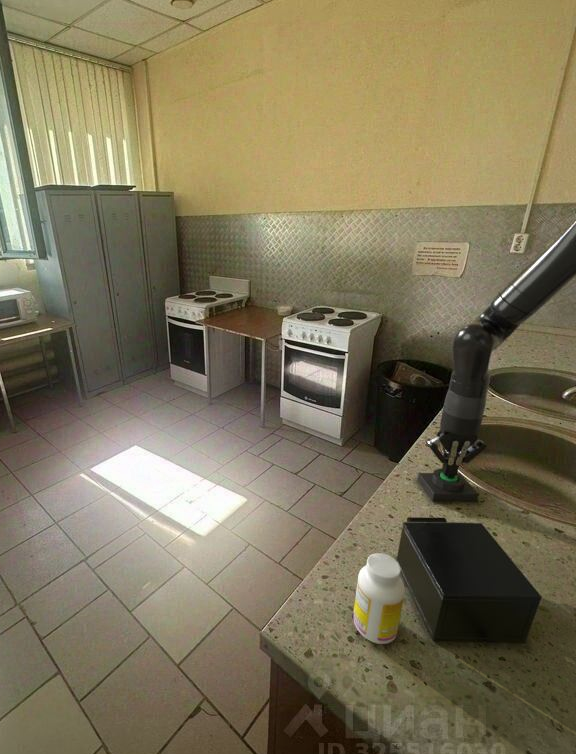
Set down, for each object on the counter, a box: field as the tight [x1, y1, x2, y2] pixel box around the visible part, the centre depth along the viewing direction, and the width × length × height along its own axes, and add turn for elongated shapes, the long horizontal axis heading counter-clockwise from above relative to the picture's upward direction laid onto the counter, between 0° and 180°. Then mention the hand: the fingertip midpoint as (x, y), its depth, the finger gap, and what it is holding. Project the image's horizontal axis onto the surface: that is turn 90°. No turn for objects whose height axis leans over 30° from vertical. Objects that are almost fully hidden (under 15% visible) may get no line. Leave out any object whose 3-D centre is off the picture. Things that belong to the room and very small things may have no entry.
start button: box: [440, 473, 458, 482], centre depth 93 cm, size 4×4×2 cm
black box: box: [396, 522, 542, 644], centre depth 66 cm, size 15×14×10 cm
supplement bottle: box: [353, 552, 406, 645], centre depth 61 cm, size 7×7×13 cm
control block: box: [417, 468, 480, 503], centre depth 93 cm, size 10×8×4 cm
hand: (448, 476), depth 92 cm, fingers closed
